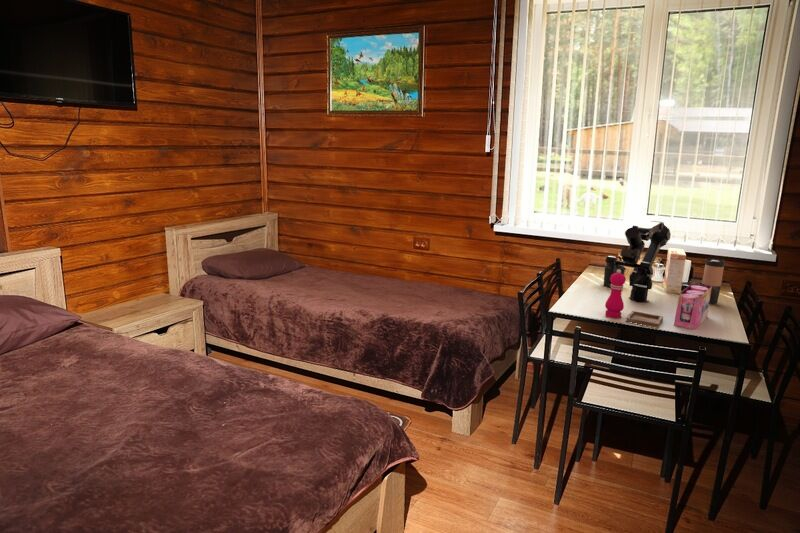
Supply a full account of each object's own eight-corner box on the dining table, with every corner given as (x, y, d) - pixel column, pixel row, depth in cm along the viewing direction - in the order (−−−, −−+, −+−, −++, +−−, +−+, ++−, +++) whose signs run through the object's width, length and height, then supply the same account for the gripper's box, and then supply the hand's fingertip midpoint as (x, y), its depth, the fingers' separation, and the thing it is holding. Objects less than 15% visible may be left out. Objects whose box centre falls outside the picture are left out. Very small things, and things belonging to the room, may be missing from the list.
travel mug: (717, 301, 259) (724, 259, 255) (718, 305, 253) (725, 262, 248) (698, 298, 263) (705, 257, 258) (699, 303, 256) (706, 260, 251)
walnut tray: (631, 314, 235) (632, 310, 235) (662, 320, 229) (663, 316, 229) (625, 322, 225) (626, 317, 225) (657, 328, 219) (658, 324, 219)
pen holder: (598, 284, 283) (600, 265, 280) (612, 282, 287) (614, 263, 284) (612, 289, 275) (615, 269, 272) (626, 287, 278) (629, 268, 276)
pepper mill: (623, 319, 229) (630, 272, 224) (605, 317, 230) (611, 270, 225) (620, 314, 236) (626, 268, 231) (602, 312, 237) (608, 266, 232)
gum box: (693, 331, 218) (699, 297, 214) (672, 326, 222) (677, 293, 219) (707, 317, 236) (712, 286, 233) (687, 313, 241) (691, 282, 237)
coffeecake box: (662, 284, 286) (668, 247, 281) (678, 286, 283) (683, 249, 279) (664, 292, 272) (670, 253, 268) (680, 294, 270) (686, 254, 265)
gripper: (609, 237, 242) (596, 267, 237) (653, 244, 230) (640, 275, 225) (614, 251, 250) (602, 280, 245) (657, 259, 238) (645, 289, 233)
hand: (621, 281), depth 237 cm, fingers open, 9 cm apart
